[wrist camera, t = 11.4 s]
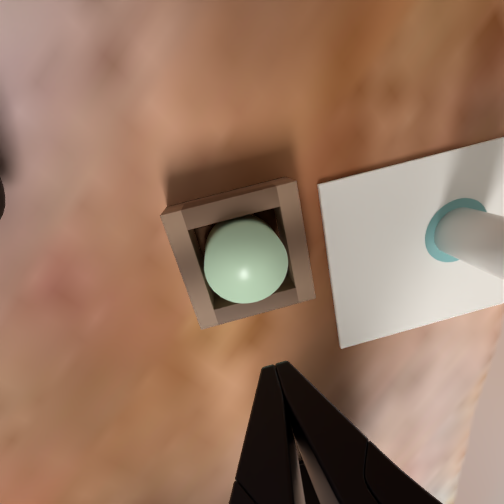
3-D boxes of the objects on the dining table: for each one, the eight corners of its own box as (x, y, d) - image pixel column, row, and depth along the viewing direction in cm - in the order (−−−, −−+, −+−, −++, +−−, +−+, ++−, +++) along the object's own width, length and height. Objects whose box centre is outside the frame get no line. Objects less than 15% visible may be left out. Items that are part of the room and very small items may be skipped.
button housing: (304, 281, 21) (315, 298, 19) (202, 309, 21) (201, 329, 19) (285, 176, 18) (296, 180, 16) (166, 206, 18) (160, 215, 16)
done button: (283, 271, 20) (294, 291, 18) (216, 289, 20) (217, 312, 17) (269, 205, 19) (279, 215, 16) (195, 224, 18) (193, 238, 16)
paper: (513, 297, 25) (517, 299, 24) (339, 346, 24) (341, 349, 24) (537, 128, 20) (543, 127, 19) (317, 184, 19) (319, 185, 19)
